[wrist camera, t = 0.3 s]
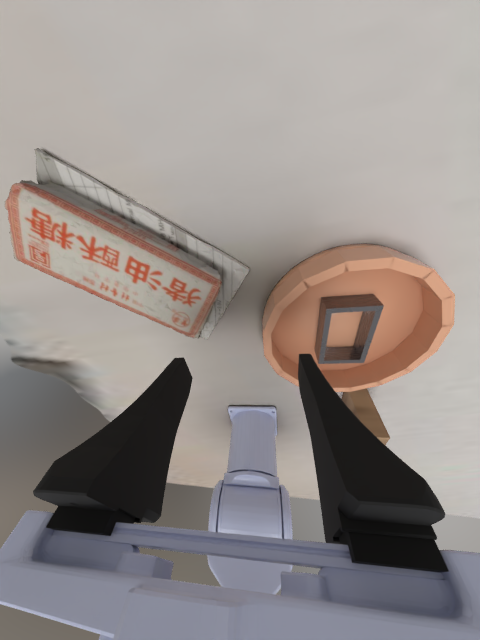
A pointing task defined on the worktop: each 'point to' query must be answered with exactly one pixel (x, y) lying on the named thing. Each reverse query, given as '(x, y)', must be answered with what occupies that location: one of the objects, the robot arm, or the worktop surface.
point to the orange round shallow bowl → (358, 314)
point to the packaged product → (119, 249)
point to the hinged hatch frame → (364, 333)
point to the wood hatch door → (366, 412)
